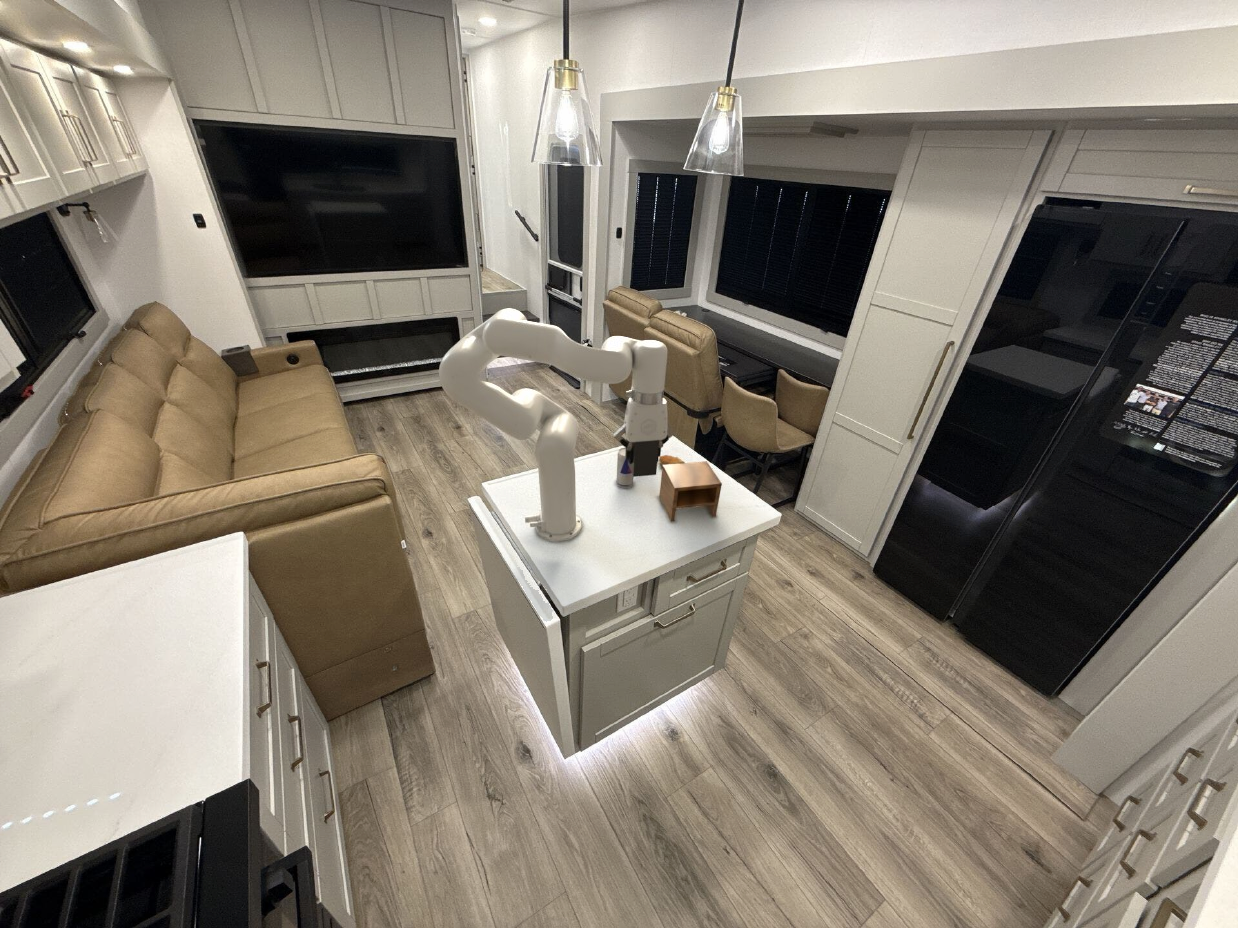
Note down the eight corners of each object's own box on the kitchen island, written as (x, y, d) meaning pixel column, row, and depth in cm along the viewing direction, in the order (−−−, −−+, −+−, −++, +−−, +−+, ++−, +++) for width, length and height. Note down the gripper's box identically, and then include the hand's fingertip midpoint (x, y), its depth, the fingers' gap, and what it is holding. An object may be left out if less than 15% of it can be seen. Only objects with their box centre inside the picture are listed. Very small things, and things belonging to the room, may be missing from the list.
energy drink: (633, 488, 153) (635, 456, 147) (616, 488, 153) (617, 455, 147) (632, 479, 158) (634, 447, 151) (616, 478, 158) (617, 447, 151)
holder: (633, 476, 121) (635, 442, 116) (627, 464, 126) (629, 430, 121) (656, 474, 122) (659, 440, 117) (650, 462, 127) (652, 428, 122)
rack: (670, 521, 140) (674, 488, 133) (659, 497, 150) (662, 464, 143) (715, 516, 143) (722, 483, 136) (701, 493, 152) (706, 461, 146)
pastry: (653, 463, 166) (654, 454, 164) (667, 457, 170) (668, 448, 168) (673, 475, 160) (674, 465, 158) (687, 469, 164) (688, 459, 162)
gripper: (614, 403, 108) (612, 470, 118) (687, 399, 111) (679, 465, 121) (608, 390, 114) (606, 455, 124) (677, 386, 118) (670, 449, 127)
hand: (642, 459), depth 122 cm, fingers closed on holder, 6 cm apart
